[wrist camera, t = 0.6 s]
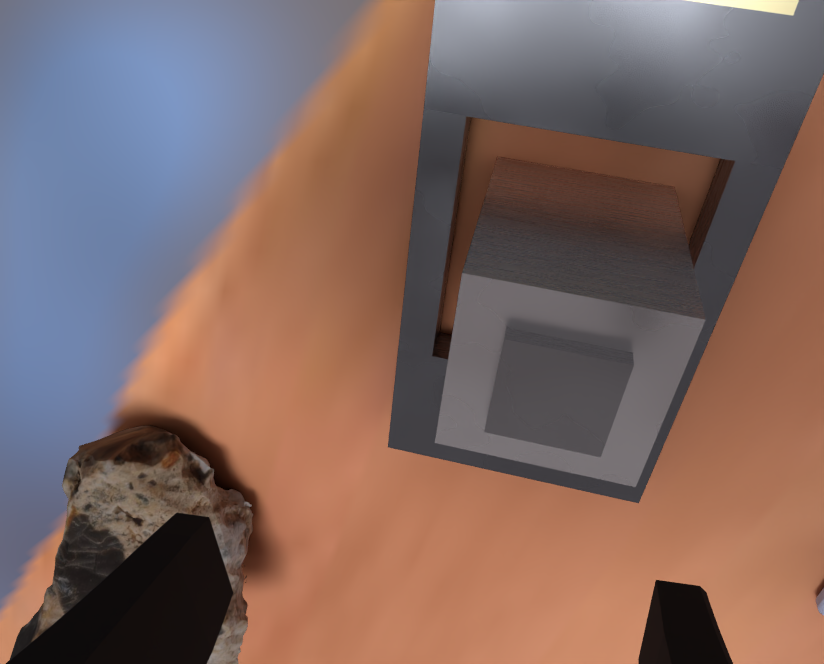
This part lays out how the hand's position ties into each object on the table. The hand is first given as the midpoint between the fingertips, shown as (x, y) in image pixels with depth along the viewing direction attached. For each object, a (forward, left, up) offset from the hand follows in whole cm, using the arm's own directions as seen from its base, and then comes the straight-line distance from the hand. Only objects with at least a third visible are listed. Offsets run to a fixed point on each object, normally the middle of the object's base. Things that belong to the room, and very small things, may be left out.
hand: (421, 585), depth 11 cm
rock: (+10, +13, -11) cm, 20 cm away
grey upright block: (-2, -1, -10) cm, 10 cm away
